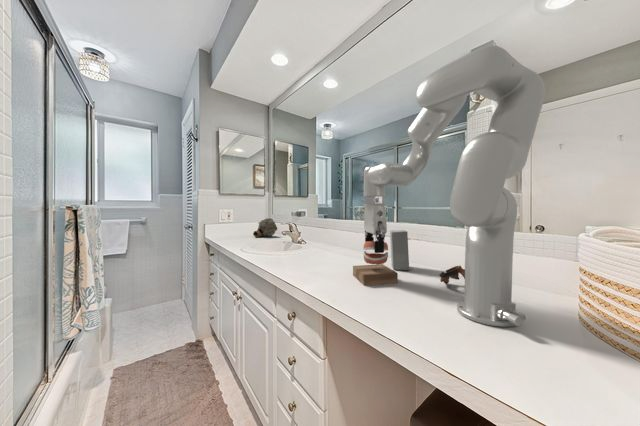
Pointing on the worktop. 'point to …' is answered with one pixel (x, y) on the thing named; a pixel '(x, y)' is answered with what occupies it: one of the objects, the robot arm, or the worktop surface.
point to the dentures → (374, 254)
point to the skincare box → (399, 249)
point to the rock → (265, 228)
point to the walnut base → (375, 274)
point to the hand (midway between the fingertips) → (374, 249)
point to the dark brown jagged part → (452, 274)
